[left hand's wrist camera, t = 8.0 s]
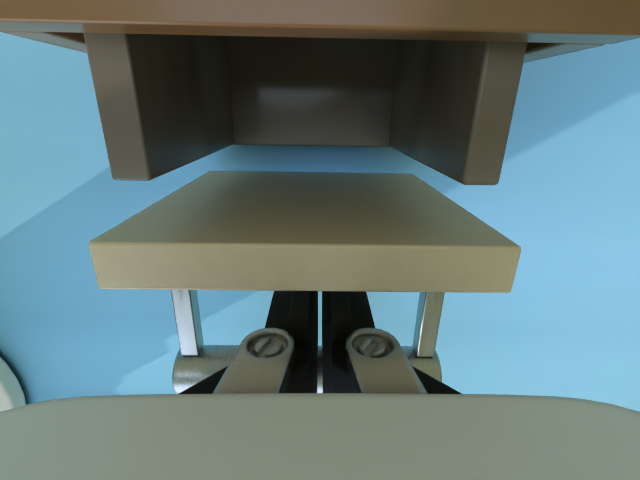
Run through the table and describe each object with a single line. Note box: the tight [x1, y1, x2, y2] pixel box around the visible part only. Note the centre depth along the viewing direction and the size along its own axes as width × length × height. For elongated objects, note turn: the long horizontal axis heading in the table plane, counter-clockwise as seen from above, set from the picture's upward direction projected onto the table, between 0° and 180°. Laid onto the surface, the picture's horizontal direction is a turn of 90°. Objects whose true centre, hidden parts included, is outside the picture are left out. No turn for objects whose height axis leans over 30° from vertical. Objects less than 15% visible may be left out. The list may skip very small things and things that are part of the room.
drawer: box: [84, 33, 527, 394], centre depth 10 cm, size 23×10×9 cm, turn 179°
